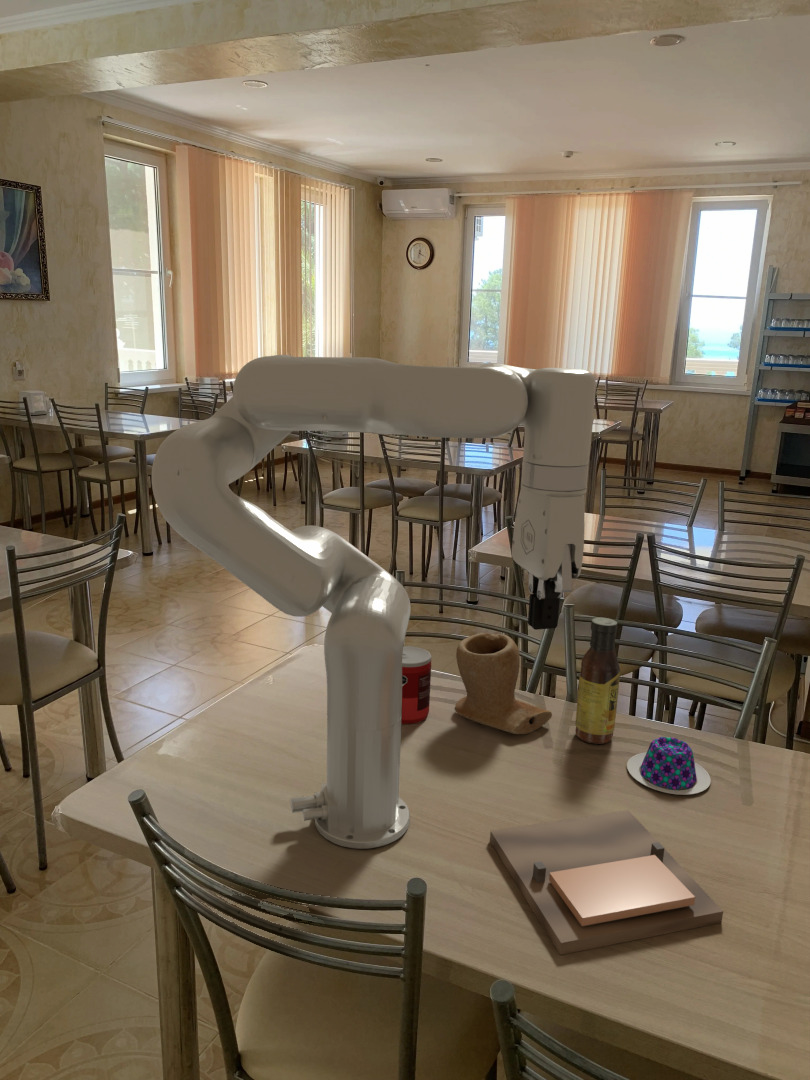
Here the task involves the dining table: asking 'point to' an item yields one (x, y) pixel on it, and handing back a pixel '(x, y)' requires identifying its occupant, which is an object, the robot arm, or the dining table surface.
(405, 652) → the canned food
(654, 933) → the board
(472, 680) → the clay platform pipe
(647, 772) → the patterned brimmed hat
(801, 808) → the dining table surface
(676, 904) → the tile
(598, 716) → the sauce bottle
